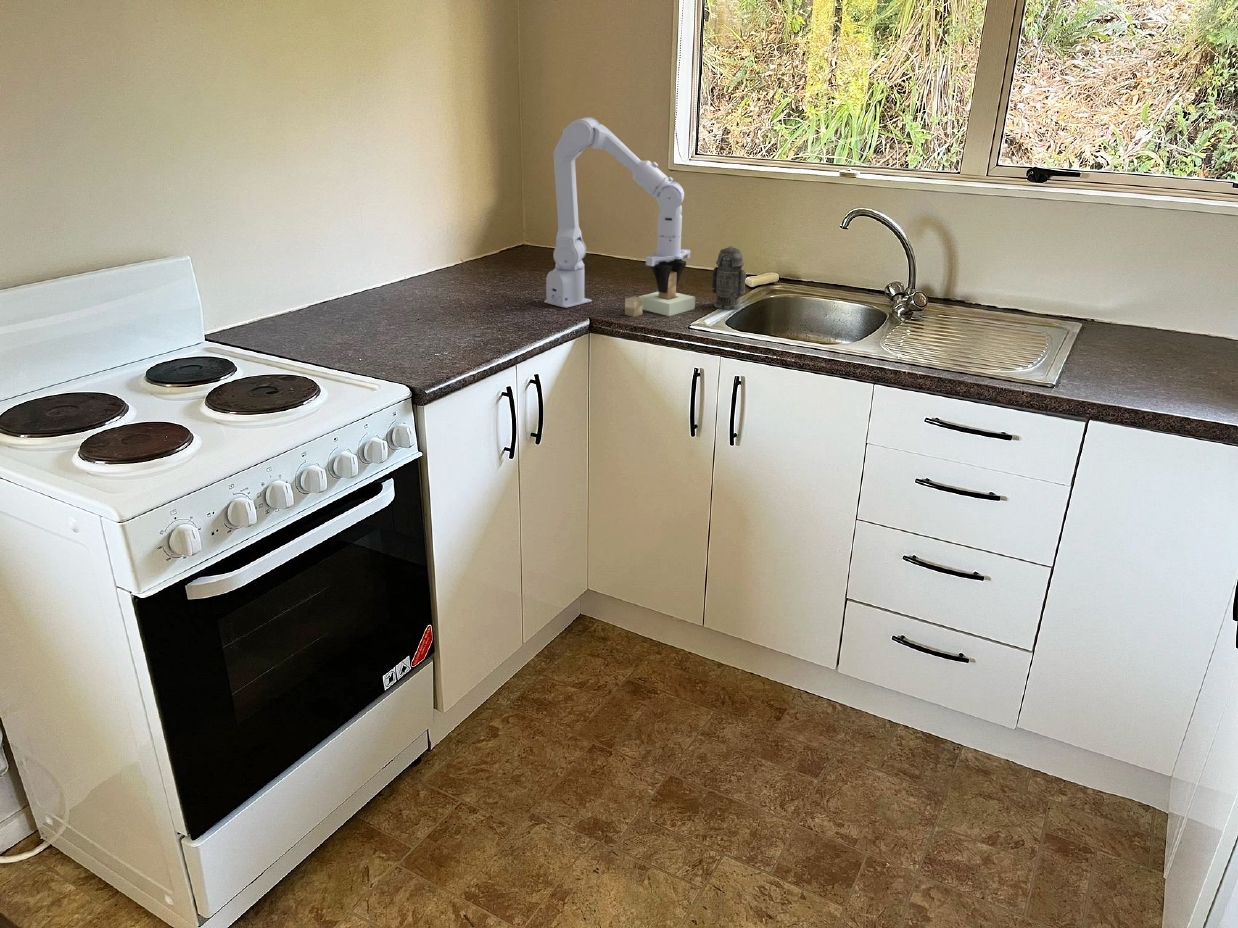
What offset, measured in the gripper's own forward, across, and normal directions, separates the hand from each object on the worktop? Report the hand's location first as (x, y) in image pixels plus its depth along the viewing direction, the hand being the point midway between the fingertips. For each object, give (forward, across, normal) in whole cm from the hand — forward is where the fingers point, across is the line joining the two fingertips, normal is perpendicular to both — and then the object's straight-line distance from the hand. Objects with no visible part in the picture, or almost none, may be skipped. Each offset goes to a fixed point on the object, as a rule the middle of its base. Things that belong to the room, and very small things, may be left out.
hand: (667, 291), depth 228 cm
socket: (+4, 0, 0) cm, 4 cm away
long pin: (+2, 0, 0) cm, 2 cm away
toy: (+5, +13, -9) cm, 16 cm away
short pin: (+4, -10, +2) cm, 11 cm away
